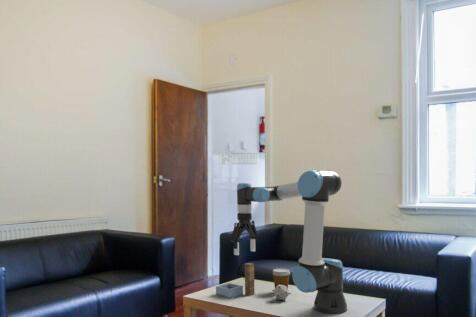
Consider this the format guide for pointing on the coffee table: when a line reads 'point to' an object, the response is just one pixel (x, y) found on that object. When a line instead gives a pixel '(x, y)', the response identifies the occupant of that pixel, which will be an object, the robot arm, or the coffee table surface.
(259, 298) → the coffee table surface
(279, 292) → the game die
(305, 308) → the coffee table surface
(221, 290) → the light blue square bin
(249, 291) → the long wooden beam
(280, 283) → the disposable coffee cup
